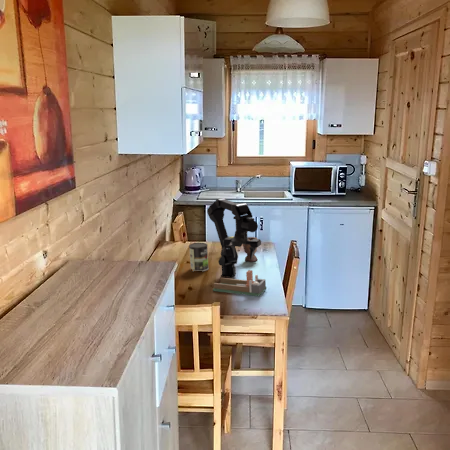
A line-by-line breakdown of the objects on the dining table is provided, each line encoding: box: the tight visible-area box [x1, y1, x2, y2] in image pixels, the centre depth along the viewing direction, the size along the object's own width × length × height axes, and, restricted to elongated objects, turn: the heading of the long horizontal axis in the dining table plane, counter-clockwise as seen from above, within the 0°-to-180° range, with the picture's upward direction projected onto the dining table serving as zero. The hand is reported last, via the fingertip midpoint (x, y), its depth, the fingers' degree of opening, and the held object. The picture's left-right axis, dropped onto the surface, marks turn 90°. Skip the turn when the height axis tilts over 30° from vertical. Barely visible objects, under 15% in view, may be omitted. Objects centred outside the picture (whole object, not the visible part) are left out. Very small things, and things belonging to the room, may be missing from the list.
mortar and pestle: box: [242, 236, 258, 263], centre depth 284 cm, size 12×9×20 cm
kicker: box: [236, 269, 255, 287], centre depth 239 cm, size 8×6×9 cm
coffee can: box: [188, 242, 209, 272], centre depth 274 cm, size 10×10×14 cm
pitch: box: [212, 274, 267, 297], centre depth 240 cm, size 24×11×7 cm, turn 66°
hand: (242, 258), depth 248 cm, fingers open, 9 cm apart
